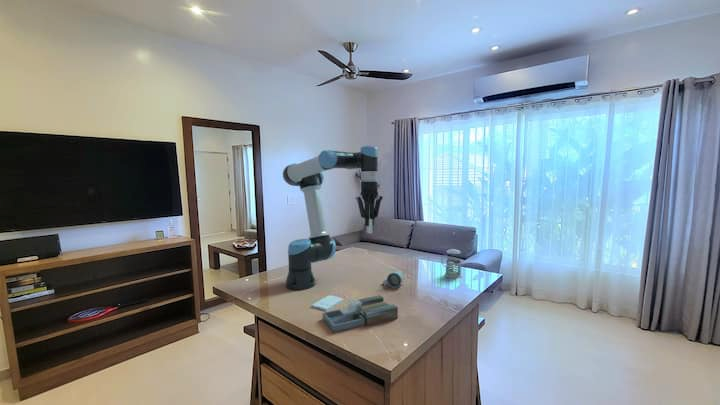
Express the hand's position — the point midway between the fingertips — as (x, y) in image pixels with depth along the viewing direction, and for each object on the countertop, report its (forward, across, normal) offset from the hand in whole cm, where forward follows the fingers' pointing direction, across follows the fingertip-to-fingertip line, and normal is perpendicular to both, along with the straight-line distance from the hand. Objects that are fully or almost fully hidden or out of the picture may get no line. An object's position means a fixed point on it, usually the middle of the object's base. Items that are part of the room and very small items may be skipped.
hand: (369, 232), depth 134 cm
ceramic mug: (+31, +19, +9) cm, 37 cm away
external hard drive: (+31, -20, +3) cm, 37 cm away
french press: (+31, +57, +7) cm, 65 cm away
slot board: (+30, -7, -16) cm, 35 cm away
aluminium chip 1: (+28, -17, -16) cm, 36 cm away
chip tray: (+30, -20, -16) cm, 40 cm away
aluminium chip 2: (+27, -15, -16) cm, 35 cm away
